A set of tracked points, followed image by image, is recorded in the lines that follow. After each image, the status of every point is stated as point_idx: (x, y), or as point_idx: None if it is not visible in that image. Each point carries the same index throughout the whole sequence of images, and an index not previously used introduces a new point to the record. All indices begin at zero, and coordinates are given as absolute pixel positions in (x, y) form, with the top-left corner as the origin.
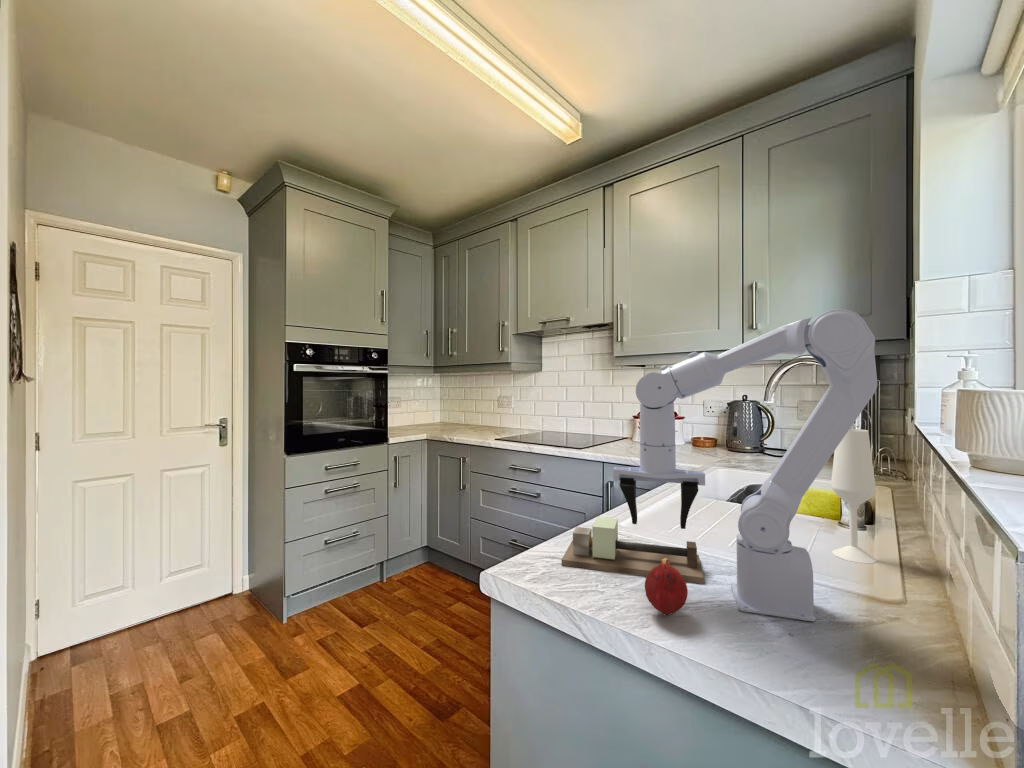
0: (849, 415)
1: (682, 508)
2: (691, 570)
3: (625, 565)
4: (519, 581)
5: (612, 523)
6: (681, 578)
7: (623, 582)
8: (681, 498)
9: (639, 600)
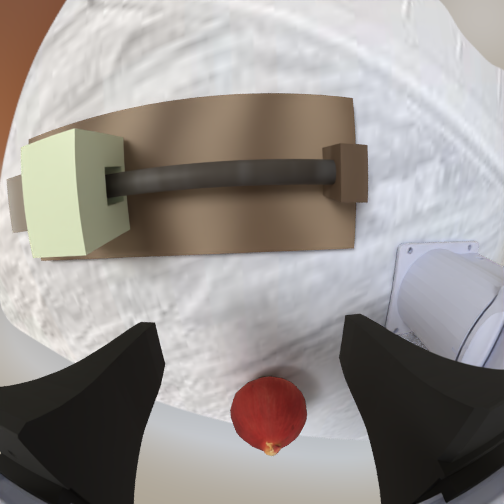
0: None
1: (368, 432)
2: (330, 214)
3: (161, 242)
4: (38, 336)
5: (67, 198)
6: (299, 433)
7: (174, 297)
8: (396, 417)
9: (218, 355)
